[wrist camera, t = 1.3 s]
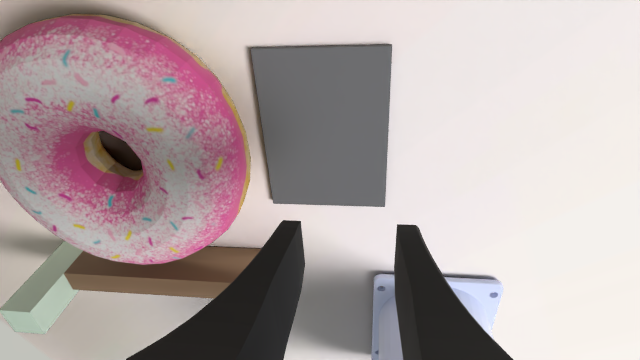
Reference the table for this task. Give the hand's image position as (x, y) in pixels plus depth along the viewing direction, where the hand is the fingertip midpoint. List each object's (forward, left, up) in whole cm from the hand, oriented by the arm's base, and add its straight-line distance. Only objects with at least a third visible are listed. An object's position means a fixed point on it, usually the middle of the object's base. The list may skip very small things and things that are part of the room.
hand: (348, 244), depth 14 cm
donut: (0, +12, -9) cm, 15 cm away
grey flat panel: (0, +2, -8) cm, 9 cm away
